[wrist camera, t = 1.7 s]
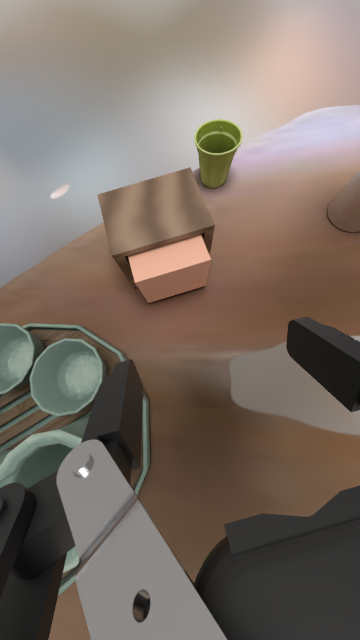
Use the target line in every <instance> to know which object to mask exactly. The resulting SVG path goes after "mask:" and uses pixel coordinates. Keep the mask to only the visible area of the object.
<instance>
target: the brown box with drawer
mask: <svg viewBox="0 0 360 640" xmlns="http://www.w3.org/2000/svg"><path fill="white" fill-rule="evenodd" d="M98 199H99V203H100V207H101V212H102V216H103V220H104V224H105V228H106V233H107V237H108V241H109V245H110V249H111V253H112V256H113V258H114V259H115V261H116V262H117V264H118V265H119V266H120V268H121V269H122V271H123V272H124V273H125V275H126V276H127V278H128V279H129V281H130V282H131V283H132V285H133V286H134V288H135V289H136V288H138V287H137V285H136V284H135V281H134V277H133V274H132V270H131V266H130V262H129V258H128V255H132V254H135V253H138V252H142V251H145V250H148V249H152V248H155V247H158V246H161V245H165V244H168V243H171V242H175V241H178V240H181V239H185V238H188V237H191V236H195V235H198V234H201V236H202V238H203V241H204V243H205V246H206V248H207V251H208V253H209V256H210V250H211V244H212V238H213V232H214V226H215V224H214V222H213V220H212V217H211V215H210V213H209V210H208V208H207V206H206V203H205V201H204V199H203V196H202V194H201V191H200V189H199V187H198V184H197V182H196V180H195V177H194V175H193V173H192V170H191V168H187V169H184V170H180V171H177V172H173V173H170V174H166V175H163V176H160V177H156V178H153V179H150V180H146V181H143V182H139V183H136V184H132V185H129V186H126V187H122V188H119V189H115V190H112V191H109V192H105V193H102V194H99V195H98Z"/></svg>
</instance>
